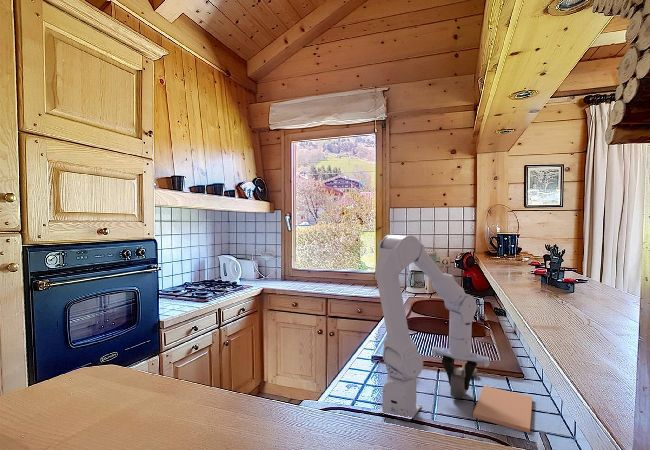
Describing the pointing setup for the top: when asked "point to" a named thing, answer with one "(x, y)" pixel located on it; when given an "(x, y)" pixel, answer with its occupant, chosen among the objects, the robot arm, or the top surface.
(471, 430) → the top surface
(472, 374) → the figurine
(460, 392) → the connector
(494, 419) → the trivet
